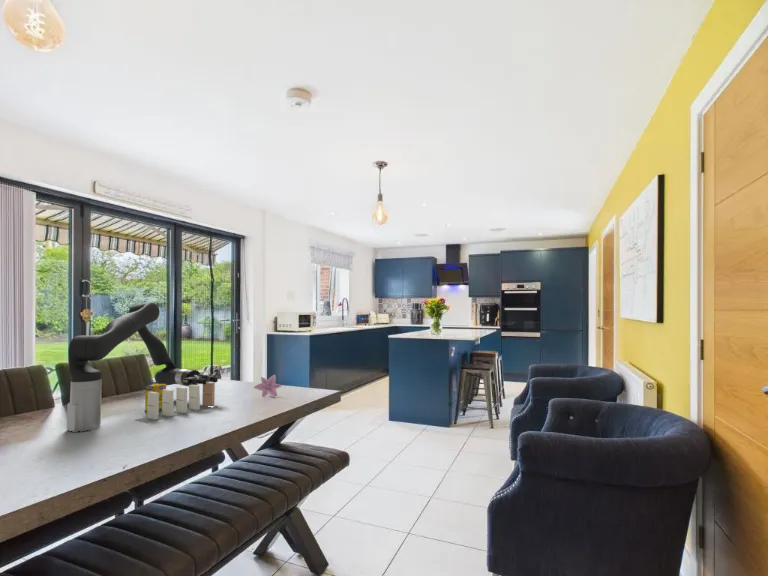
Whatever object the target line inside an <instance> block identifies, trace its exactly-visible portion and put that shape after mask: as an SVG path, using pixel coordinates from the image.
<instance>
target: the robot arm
mask: <svg viewBox="0 0 768 576" xmlns="http://www.w3.org/2000/svg"><path fill="white" fill-rule="evenodd" d="M160 313H161V312H160V308H159V306H158V305H157V303H155V302H152V301H149V302H148V301H147V302H142V303H139V304H135V305H132V306H130V308H129V310H128V313H126V314H123V315H120V316H117V317H116V318H114V319H112V320H111V321H109V322H108V323H107V324H106V326H105V328H104V333H103V334H97V335H76V336H74V337H72V338H71V340H70V342H69V344H68V353H67V354H68V373H69V377H70V391H69V392H70V396H69V402H68V403H67V404H66V406H67V410H66V431H68V430H69V431H70V432H71V431H72V432H71V433H79V432H78V431H80V432H87V430H88V431H92V430H94V429H98V428H100V427H101V422H102V421H101V420H102V419H101V417H102V415H101V414H102V384H103V383H102V378H103V374H102V371H101V370H99V369H96V368H94V367H93V366H91V365H89V362H98V361H101V360H102V359H104V358H105V357H107V356H108V355H109V353H111V352H112V351H113V350H114V349H115V348H116V347H117V346H118V345H120V344H121V343H123V342H124V341H126V340H127V339H129V338H130V337H132V336H133V335H134V334H136V333H138V334H139V336H140V338H141V340H142V341H143V343H144V344H145V346H146V348H147V350H148V353H149V355H150V357H151V361H152V363H153V365H154V366H163V365H165V367H164V368H162V369H159V370H158V371H157V372H156V373H155V374H154V381H155V382H156V384H166V386H170V385H180V386H182V387H189V385H192V384H193V385H203V384H206V382H211V383H218V379H219V378H218V377H217V376H216V375H215V374H212V373H210V374H203V373H200V371H199V370H197V369H189V368H178V367H177V365H176V364H175V363H174V362H173V360H172V359H171V357H170V356H169V355H170V354H169V353H168V350H167V348H166V345H165V344H164V343H163V341H162V340H160V339H159V338H158V337H157V336H155V334H153V333H152V332H151V331H150V330H149V328H148V327H147V325H148V324H151V323H153V322H156V320H158V319H159V316H160ZM69 431H68V432H69Z"/></svg>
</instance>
